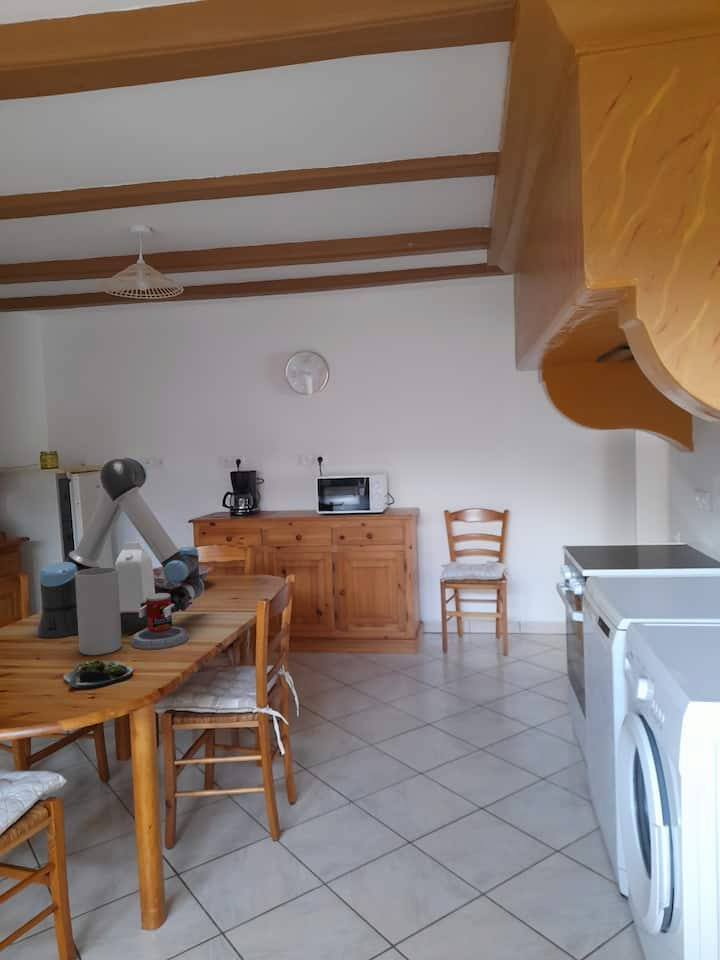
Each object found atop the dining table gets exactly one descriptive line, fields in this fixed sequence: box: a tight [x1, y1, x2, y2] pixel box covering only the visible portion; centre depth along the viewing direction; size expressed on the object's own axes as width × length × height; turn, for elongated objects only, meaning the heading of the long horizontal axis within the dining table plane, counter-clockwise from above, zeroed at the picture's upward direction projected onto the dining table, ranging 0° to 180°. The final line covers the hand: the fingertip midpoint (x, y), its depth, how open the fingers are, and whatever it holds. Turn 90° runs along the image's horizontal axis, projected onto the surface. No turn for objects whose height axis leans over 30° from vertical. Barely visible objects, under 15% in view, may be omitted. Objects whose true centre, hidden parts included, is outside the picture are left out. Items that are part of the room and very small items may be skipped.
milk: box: [114, 541, 156, 612], centre depth 263 cm, size 12×12×26 cm
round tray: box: [130, 626, 189, 651], centre depth 218 cm, size 18×18×2 cm
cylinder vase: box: [75, 567, 123, 656], centre depth 210 cm, size 12×12×25 cm
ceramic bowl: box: [153, 564, 212, 590], centre depth 298 cm, size 29×29×8 cm
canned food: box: [146, 592, 173, 632], centre depth 217 cm, size 8×8×11 cm
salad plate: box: [63, 659, 134, 690], centre depth 186 cm, size 19×18×5 cm
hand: (152, 613), depth 212 cm, fingers closed on canned food, 8 cm apart
